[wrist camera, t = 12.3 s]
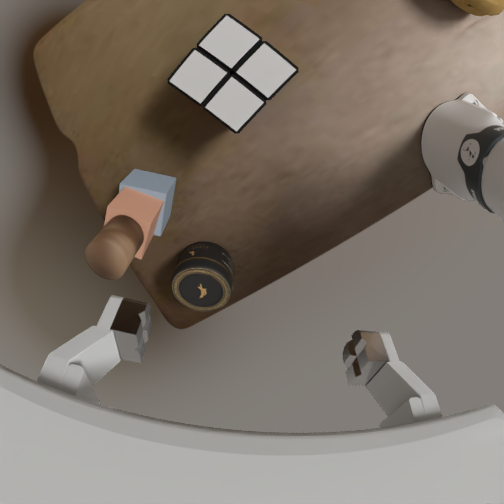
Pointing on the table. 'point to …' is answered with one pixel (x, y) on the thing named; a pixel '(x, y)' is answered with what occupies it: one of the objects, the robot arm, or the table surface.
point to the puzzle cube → (232, 73)
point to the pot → (480, 6)
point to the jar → (203, 277)
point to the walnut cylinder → (114, 247)
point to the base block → (153, 191)
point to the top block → (137, 212)
